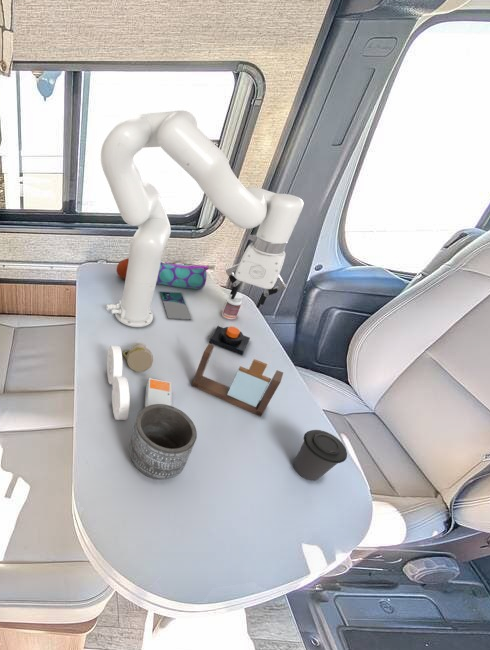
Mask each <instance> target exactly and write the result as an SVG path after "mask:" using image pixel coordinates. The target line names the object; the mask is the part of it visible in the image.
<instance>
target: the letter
mask: <svg viewBox="0 0 490 650" xmlns="http://www.w3.org/2000/svg"><path fill="white" fill-rule="evenodd" d="M106 371H107V372H106V374H107V381H108V384H109V385H112V391H111V403H112V405H111V406H112V413H113V417H114V419H115V420H117V421H126V420H128V418H129V415H130V414H129V413H130V405H131V403H130V402H131V400H130V399H131V398H130V386H129V382H128V379H127V377H125V376H123V352H122V349H121V347H120V346H119V345H110V346H109V347H108V351H107V357H106Z"/></svg>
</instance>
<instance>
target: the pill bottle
mask: <svg viewBox="0 0 490 650" xmlns="http://www.w3.org/2000/svg"><path fill="white" fill-rule="evenodd" d="M231 297H232V295H231V294H230V293H229V295H228V297H227V298H226V299H225V302H224V305H223V308H222V310H221V316H222V318H224V319H227V320H235V319H236V318H237V316H238V314H239V312H240V308H241V307H242V302H243V301H242V300H243V298H244V295H243V294H241V293H240V292H238V291H237V294H236V296H235V298H234V299H231Z"/></svg>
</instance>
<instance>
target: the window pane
mask: <svg viewBox="0 0 490 650" xmlns="http://www.w3.org/2000/svg"><path fill="white" fill-rule="evenodd" d="M267 366H268V364H267V363H265V362H263V361H260V360H258V359H255V358H254V359H253V361H252V363H251V364H250V366H249V368H247V367H244V366H239V367H238V369H237V372H236V374H235V376H234V379H233V381H232V383H231V385H230V389H229V391H228V394H227V395H229V396H231V397H233V398H236V399H238V400H240V401H242V402H245V403H247V404H249V405H252V406H254V407H256V406H257V404H258V402H259V401H260V400H261V398H262V395H264V394H263V393H265V392H264V391H266V389H267V387H268V385H269V384H270V383H269V382H271V381H270V380H272V378H271V377H268V376H266V375H263V374H264V372H265V371H266V368H267ZM265 376H266V377H265ZM270 378H271V379H270Z"/></svg>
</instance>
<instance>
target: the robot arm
mask: <svg viewBox="0 0 490 650" xmlns="http://www.w3.org/2000/svg"><path fill="white" fill-rule="evenodd" d="M159 147H160V148H161V149H162V150H163V151H164V152H165V153H166V154H167V155H168V156H169V157H170V158H171V159H172V160H173V161H174V162H176V164H177V165H179V167H181V168H182V170H184V171H185V172H186V173H187V174H188V175H189V176H190V177H191V178H192V179H193V180H194V181H195V182H196V184H198V186H199V188H200V189H201V191H202V192H203V193H204V195H206V197H207V198H208V200H209V201H210V203H212V205H213V206H215V208H216V209H217V210H218V211H219V212H220V213H221V214H222V215H223V216H224V217H225V218H226V219H227V220H228V221H230V222H231V223H232V225H235V226H236V227H238V228H240V229H243V230H244V229H245V230H251V229H254V228H257V227H258V229H257V232H256V233H255V234H249V236H248V238H247V240H249V241H251V242H250V243H249V244H248V246H247V247H246V249H245V251H244V252H243V255H242V257H241V258H240V261H239V263H236V264H233V265H232V266H229V267H227V268H226V269H225V273H226V275H227V277H228V280H230V282H231V284H232V288H231V290H230V292H229V295H230V294H231V295H232V297H231V299H234V298H235V296H236V294H237V292H238V291H239V288H240V287H241V286H240V285H241V283H245V284H248V285H250V286H254V287H257V288H260V289H262V290H263V291H262V293H261V294H260V297H259V299H258V302H257V304H256V308H257V309H259V308H260V307H261V305H262V306H264V305H265V302H266V300H267V298H268V297H269V296H272V295H274V294H277V293H279V292H282V291H284V290H286V289H287V284H286V283H285V282H284V280H283V278H282V277H281V275H280V274H281V271H282V268H283V266H284V262H285V259H286V250H285V249H286V247H287V244H288V242H289V240H290V238H291V236H292V233H293V231H294V229H295V227H296V224H297V223H298V220H299V218H300V215H301V213H302V211H303V208H304V200H303V199H302V198H301V197H299V196H296V195H294V194H290V193H277V192H274V191H270V190H267V189H264V188H261V187H258V186H248V187H245V186H244V185H243V183H242V182H241V181H240V180H239V178H237V176H236V174H235V173H234V172H233V169H232V168H231V165H230V162H229V160H228V157H227V156H226V154H225V153H224V152H223V150H222V149H220V147H219V146H217V145H216V144H215V143H214V142H213V141H212V140H211V139H210V138H209V137H208V136H206V135H205V133H204V132H203V131H201V129H200V128H198V122H197V120H196V118H195V116H194V115H193V114H192V113H191V112H189V111H187V110H172V111H171V110H170V111H162V112H150V113H149V112H148V113H139V114H134V115H132V116H129V117H128V118H126V119H124V120H122V121H121V122H119V123H118V124H117V125H116V126H114V127H113V128H112V129H111V130H110V132H109V133H108V134H107V136H106V138H105V139H104V141H103V144H102V146H101V150H100V165H101V168H102V171H103V174H104V176H105V179H106V181H107V184H108V186H109V188H110V190H111V191H110V192H111V194H112V196H113V199H114V201H115V204H116V206H117V209H118V211H119V214H120V216H121V219H122V220H123V222H124V223H126V224H127V225H129V226H132V227H137V228H138V229H136V231H135V233H134V234H133V236H132V238H131V241H130V243H129V249H128V258H129V261H128V267H127V273H126V280H125V279H124V280H125V281H124V285H123V286H124V287H123V291H122V297H121V299H120V300H118V302H117V303H115V304H112V303H110V304H108V303H107V304H105V307H106V308H105V309H106V311H110V312H111V314H113V315H114V317H115V318H116V320H118V322H119V323H121V324H123V325H126V326H128V327H132V328H143V327H147V326H149V325H150V324H152V322H153V319H154V313H153V311H152V310H151V307H152V303H153V298H154V295H155V291H156V286H157V283H156V282H157V277H158V273H159V269H160V263H161V261H162V259H163V254H164V251H165V249H166V246H167V244H168V241H169V239H170V237H171V233H172V228H171V224H170V223H171V222H170V220H169V217H168V215H167V212H166V209H165V206H164V203H163V200H162V198H161V195H160V193H159V190H158V189H157V188H156V187H155V186H154V185H152V184H151V183H149V182H145V181H144V182H143V180H142V177H141V175H140V172H139V169H138V168H137V166H136V164H135V162H134V157H135V155H136V154H138V153H139V152H140V151H141V150H142V149H144V148H159ZM234 272H235V273H234ZM276 284H277V286H275V285H276Z"/></svg>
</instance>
